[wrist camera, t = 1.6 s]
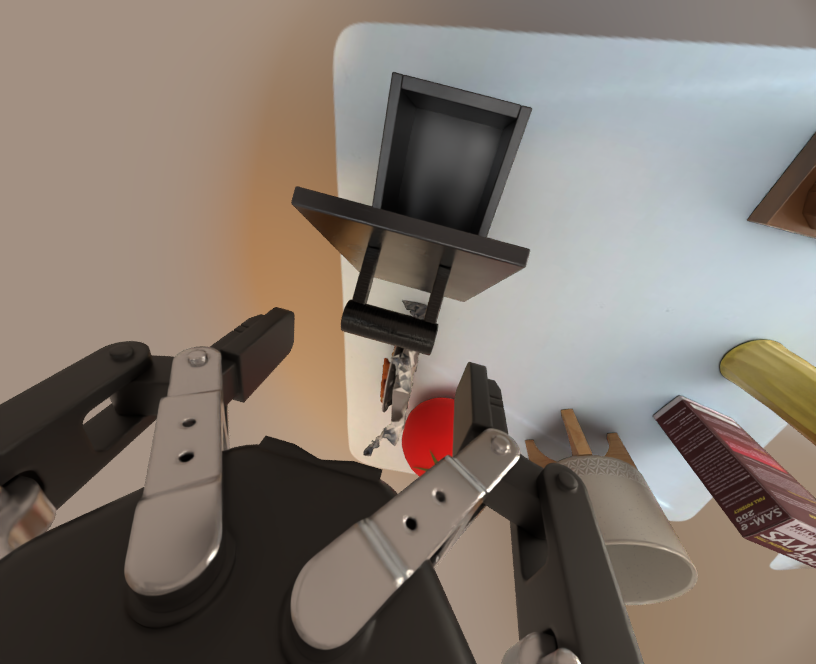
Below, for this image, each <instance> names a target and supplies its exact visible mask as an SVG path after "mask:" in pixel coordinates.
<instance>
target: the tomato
mask: <svg viewBox="0 0 816 664" xmlns="http://www.w3.org/2000/svg"><path fill="white" fill-rule="evenodd" d="M453 424H454V399H450V398H441V397H440V398H433V399H429V400H427V401H424V402H422V403H420V404H419V405H418V406H417V407H415V408H414V409H413V410H412V411H411V413H410V414H409V416H408V418H407V420H406V423H405V427H404V428H405V429H404V430H403V435H402V448H403V452H404V455H405V458H406V460H407V462H408V464H409V466H410V467H411V469H412V470H413V471H414V472H415V473H416V474H417V475H418V476H421V475H422V474H423V473H425V472H426V471H427V470H428V469H430V468H431V467H432V466H433V465H435V464H436V463H437V462H438V461H440V460H441V459H442V458H443V457H445V456H446V455H450V456H451V457H452V454H453Z"/></svg>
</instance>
